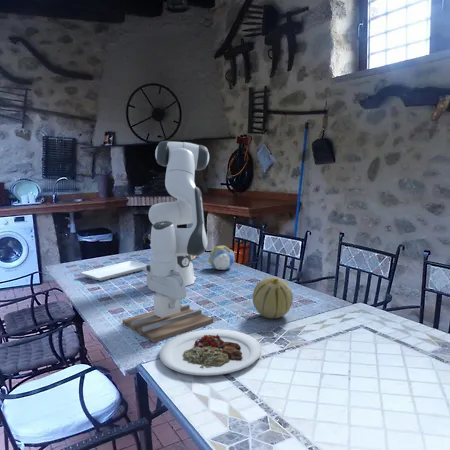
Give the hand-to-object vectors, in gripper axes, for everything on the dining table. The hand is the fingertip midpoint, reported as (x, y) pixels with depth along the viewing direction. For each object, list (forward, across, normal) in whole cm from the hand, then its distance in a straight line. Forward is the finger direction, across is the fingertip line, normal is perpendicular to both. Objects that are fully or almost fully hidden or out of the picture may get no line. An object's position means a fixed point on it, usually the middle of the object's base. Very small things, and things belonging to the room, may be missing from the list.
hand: (167, 306), depth 149 cm
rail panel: (+6, 0, 0) cm, 6 cm away
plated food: (+7, -30, +4) cm, 31 cm away
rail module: (+3, 0, 0) cm, 3 cm away
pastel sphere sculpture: (+7, +85, -59) cm, 104 cm away
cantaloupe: (+7, -22, -31) cm, 38 cm away
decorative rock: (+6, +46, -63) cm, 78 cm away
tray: (+7, +79, -18) cm, 81 cm away
